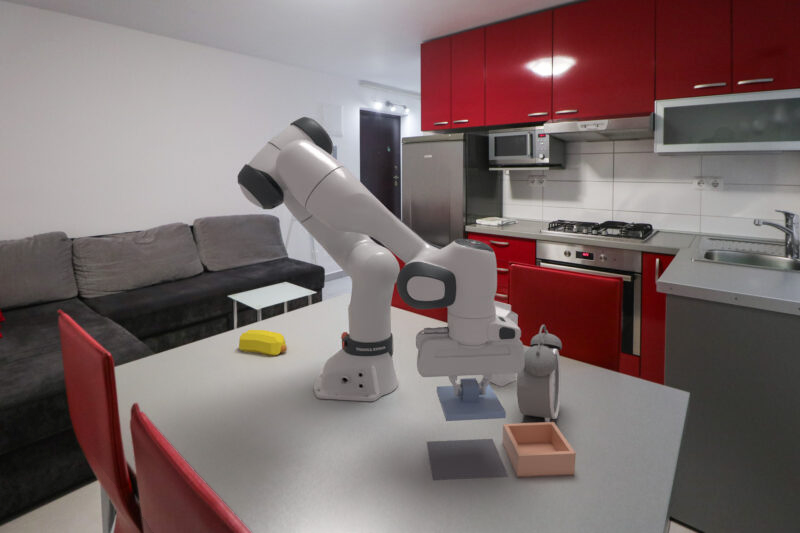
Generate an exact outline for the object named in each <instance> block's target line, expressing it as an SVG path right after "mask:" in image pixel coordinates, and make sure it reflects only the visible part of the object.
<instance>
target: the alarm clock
mask: <svg viewBox="0 0 800 533" xmlns="http://www.w3.org/2000/svg"><path fill="white" fill-rule="evenodd" d="M542 331H544V332H542ZM523 347H524V356H525V365H524V369H523V370H522V371H521V372H520V373H516V375H517V376H516V395H517V404H518V409H519V413H520V414H521V415H523V416H529V417H537V418H538V417H539V418H544V422H551V419H553V420H556V419H557V418H558V415H559V413H560V405H561V394H562V392H561V391H562V390H561V388H562V387H561V386H562V384H561V383H562V375H561V374H562V373H561V372H562V370H561V357H560V353H559V351H561V350H562V349H563V344H562V341H561V339H560V338H559V337H558V336H556V335H555V334H552V333H549V331H548V330H547V327H546V325H545V324H542V325H541V326H540V328H539V331H538V333H537V334H535V335H534V336H533V337H532V338H531V340H530V346H523Z"/></svg>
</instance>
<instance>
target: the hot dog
mask: <svg viewBox="0 0 800 533" xmlns="http://www.w3.org/2000/svg"><path fill="white" fill-rule="evenodd" d="M238 349H239V350H240V351H242V352H244V351H245V352H246V353H258V354H263V355H267V354H268V355H267V356H272V355H273V357H276V356H278V355H279V354H283V353H285V352H286V351H287V350H288V347H287V344H286V340H285V336H284V335H283V334H282V333H279V332H275V331H269V330H265V329H249V330H247V331H246V332H242V334H241V335H240V336H239V342H238Z"/></svg>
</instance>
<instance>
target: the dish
mask: <svg viewBox="0 0 800 533" xmlns="http://www.w3.org/2000/svg"><path fill="white" fill-rule="evenodd" d="M502 426H503V427H502V446H503V448H504V450H505V452H506V454H507V457H508V459H509V461H510V462H511V465H512V467H513V469H514V471H515V474H516V477H517V478H532V477H555V476H574V475H575V471H576V469H575V468H576V458H577V457H576V455H577V454H576V451H575V450H574V449H573V447H572V446H571V444H570V443H569V442H568V440H567V439H566V437H565V436H564V435H563V433H562V432H561V430H560V429H559V428H558V426H557V424H556V423H555V421H550V422H545V421H543V422H522V423H520V422H519V423H502Z"/></svg>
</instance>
